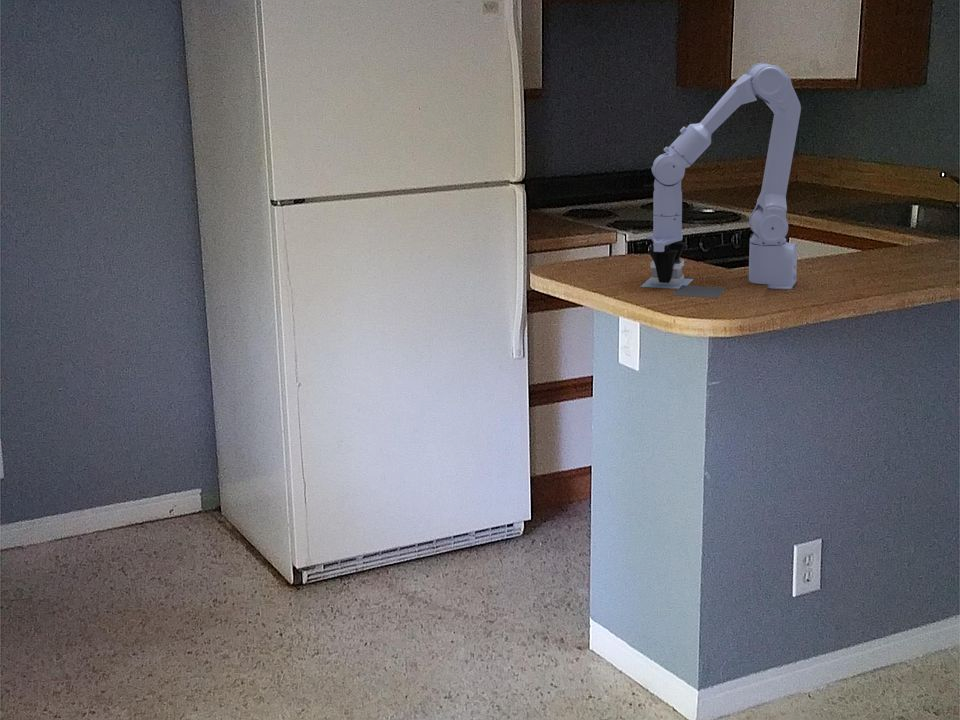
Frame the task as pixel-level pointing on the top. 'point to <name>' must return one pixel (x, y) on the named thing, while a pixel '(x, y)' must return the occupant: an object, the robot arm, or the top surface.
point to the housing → (675, 276)
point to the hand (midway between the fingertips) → (667, 279)
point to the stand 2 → (699, 291)
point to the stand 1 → (647, 284)
